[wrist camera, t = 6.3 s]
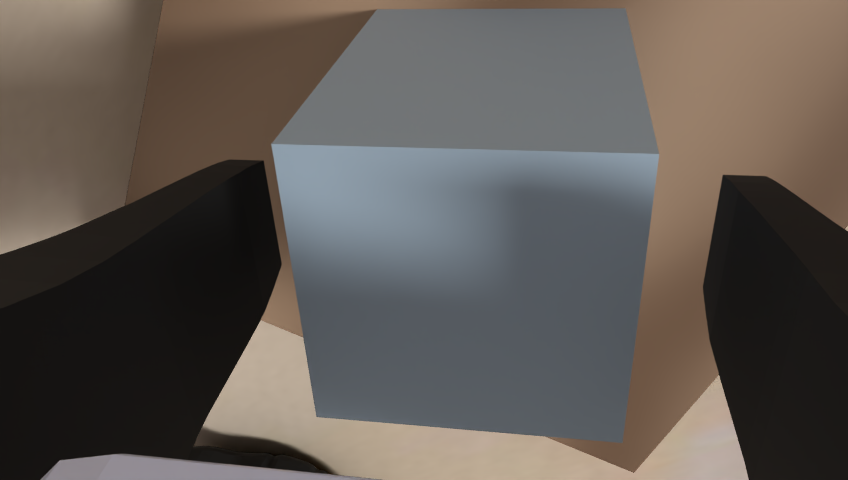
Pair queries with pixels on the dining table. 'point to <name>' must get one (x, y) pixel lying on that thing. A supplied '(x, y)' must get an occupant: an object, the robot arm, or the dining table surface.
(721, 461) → the dining table surface
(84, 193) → the dining table surface
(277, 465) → the tape measure
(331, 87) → the slate block
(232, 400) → the dining table surface
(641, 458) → the walnut base
